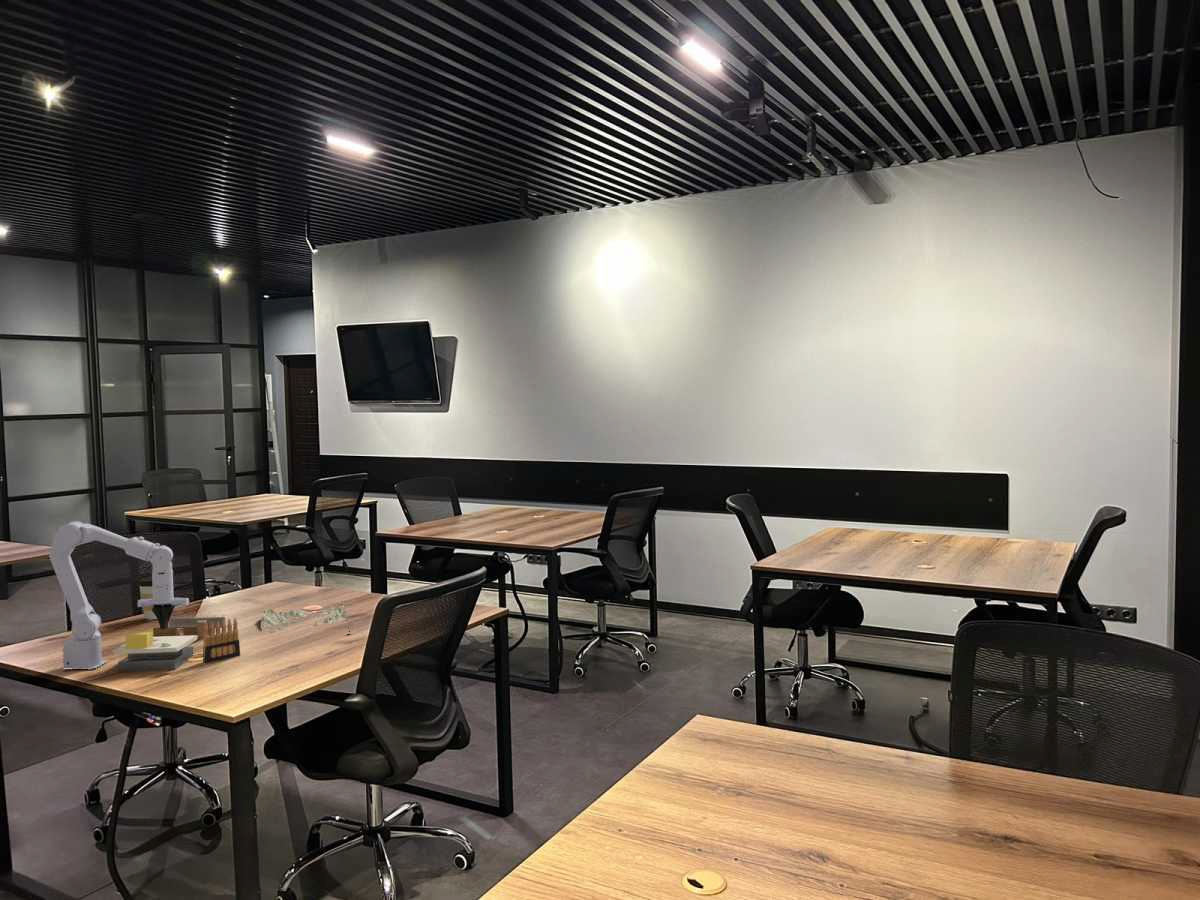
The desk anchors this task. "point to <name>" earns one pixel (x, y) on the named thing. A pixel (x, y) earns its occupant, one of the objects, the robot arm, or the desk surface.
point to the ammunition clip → (221, 642)
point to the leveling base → (155, 660)
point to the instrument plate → (153, 643)
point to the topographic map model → (274, 618)
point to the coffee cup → (147, 596)
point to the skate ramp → (188, 626)
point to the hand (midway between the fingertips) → (164, 628)
